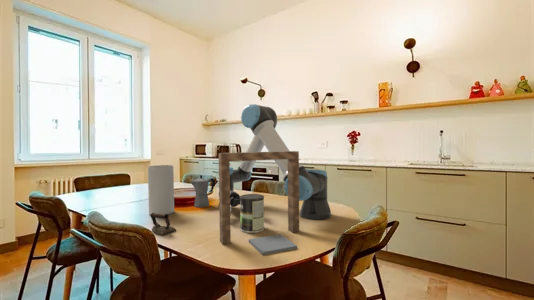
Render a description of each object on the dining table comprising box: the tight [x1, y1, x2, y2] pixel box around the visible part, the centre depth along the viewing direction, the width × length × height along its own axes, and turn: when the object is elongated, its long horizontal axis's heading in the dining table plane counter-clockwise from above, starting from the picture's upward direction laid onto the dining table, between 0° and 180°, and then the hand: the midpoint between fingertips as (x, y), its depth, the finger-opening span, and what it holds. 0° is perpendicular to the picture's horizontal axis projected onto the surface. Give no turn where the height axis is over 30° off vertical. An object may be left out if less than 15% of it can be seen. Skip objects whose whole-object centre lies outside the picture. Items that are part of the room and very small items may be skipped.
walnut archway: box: [218, 150, 300, 246], centre depth 105 cm, size 32×4×33 cm, turn 114°
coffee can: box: [239, 193, 265, 234], centre depth 114 cm, size 10×10×14 cm
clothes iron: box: [150, 213, 177, 237], centre depth 112 cm, size 7×11×10 cm, turn 61°
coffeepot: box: [189, 174, 216, 208], centre depth 159 cm, size 15×9×18 cm, turn 125°
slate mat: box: [248, 233, 298, 256], centre depth 96 cm, size 13×13×1 cm
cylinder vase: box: [147, 164, 175, 216], centre depth 142 cm, size 12×12×25 cm
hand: (244, 207), depth 122 cm, fingers open, 13 cm apart
